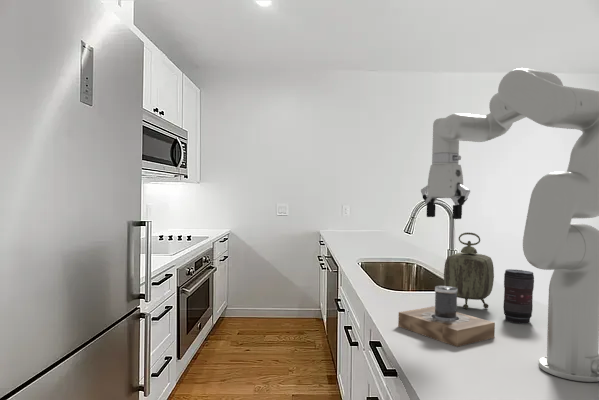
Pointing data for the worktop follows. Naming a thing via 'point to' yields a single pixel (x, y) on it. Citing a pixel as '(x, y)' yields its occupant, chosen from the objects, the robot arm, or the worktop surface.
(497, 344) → the worktop surface
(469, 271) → the tabletop clock
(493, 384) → the worktop surface
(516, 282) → the camera lens
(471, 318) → the mount board
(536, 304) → the worktop surface
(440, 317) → the shiny metal canister
